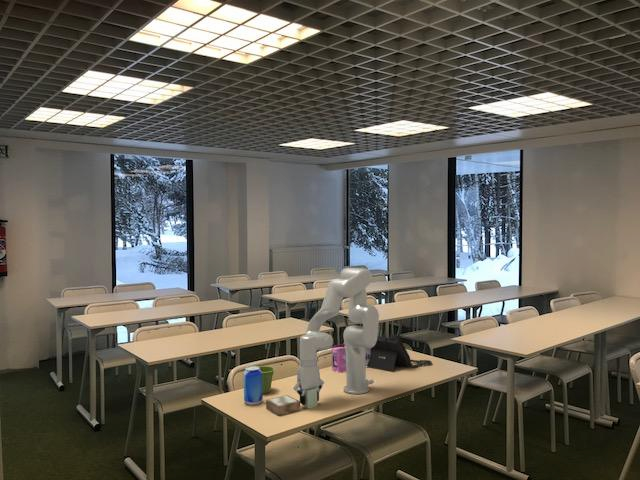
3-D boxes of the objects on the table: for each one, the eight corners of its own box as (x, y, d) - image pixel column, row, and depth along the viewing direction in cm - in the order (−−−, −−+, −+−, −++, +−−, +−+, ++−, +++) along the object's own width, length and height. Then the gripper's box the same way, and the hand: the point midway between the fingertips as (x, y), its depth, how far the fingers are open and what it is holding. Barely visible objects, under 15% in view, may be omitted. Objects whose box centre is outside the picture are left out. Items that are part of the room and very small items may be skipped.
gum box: (337, 373, 281) (336, 349, 280) (329, 370, 287) (328, 346, 287) (371, 366, 294) (371, 342, 293) (363, 363, 300) (362, 340, 300)
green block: (311, 403, 234) (310, 385, 234) (317, 406, 230) (316, 388, 230) (302, 405, 231) (301, 387, 231) (308, 408, 227) (307, 390, 227)
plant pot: (261, 397, 244) (261, 373, 244) (246, 392, 252) (245, 369, 252) (280, 391, 252) (279, 368, 252) (264, 386, 261) (264, 364, 260)
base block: (287, 403, 234) (287, 394, 234) (300, 410, 225) (300, 401, 225) (266, 408, 228) (266, 399, 228) (278, 416, 219) (278, 406, 219)
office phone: (434, 363, 295) (434, 329, 295) (408, 375, 274) (408, 337, 273) (391, 356, 315) (391, 323, 314) (364, 365, 293) (363, 330, 293)
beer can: (247, 406, 231) (246, 371, 231) (242, 401, 239) (241, 367, 239) (264, 403, 235) (263, 369, 234) (259, 398, 242) (258, 364, 242)
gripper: (319, 358, 238) (320, 396, 239) (287, 364, 228) (288, 404, 229) (329, 361, 232) (330, 400, 232) (296, 367, 222) (297, 408, 223)
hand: (309, 401), depth 231 cm, fingers open, 6 cm apart
